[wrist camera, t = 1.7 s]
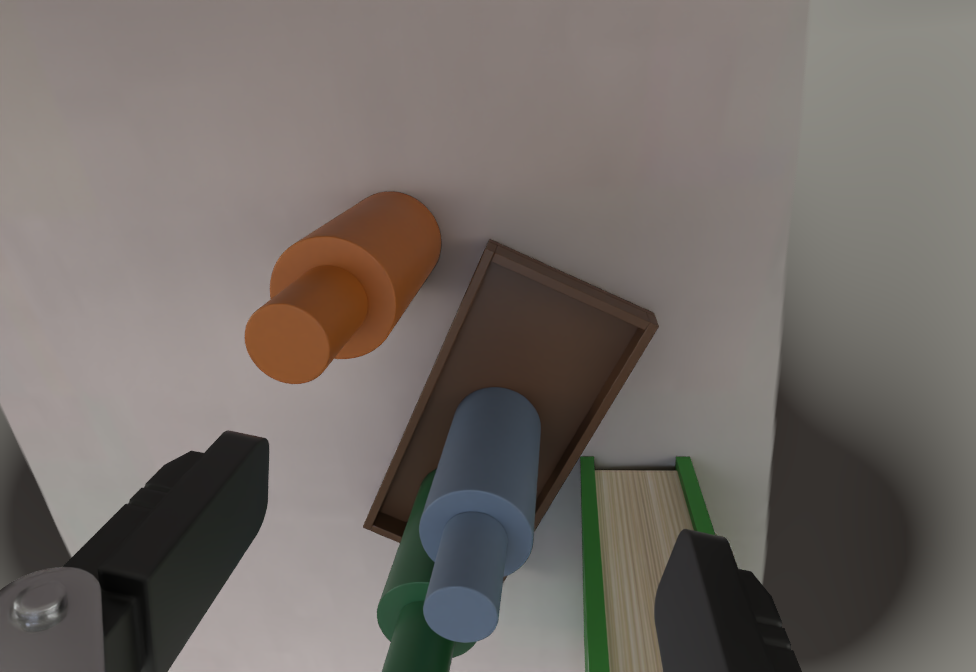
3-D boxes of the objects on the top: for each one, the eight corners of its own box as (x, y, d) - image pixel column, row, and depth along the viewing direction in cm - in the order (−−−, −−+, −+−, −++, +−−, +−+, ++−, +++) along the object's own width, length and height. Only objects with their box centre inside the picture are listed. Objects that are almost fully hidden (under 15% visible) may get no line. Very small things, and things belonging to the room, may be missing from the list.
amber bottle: (335, 262, 39) (197, 376, 24) (364, 174, 36) (230, 243, 22) (421, 300, 39) (336, 435, 25) (455, 216, 37) (384, 311, 22)
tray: (371, 508, 47) (362, 527, 45) (489, 238, 37) (485, 248, 35) (504, 563, 47) (501, 585, 45) (654, 312, 38) (659, 326, 36)
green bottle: (407, 511, 45) (333, 719, 31) (435, 451, 43) (369, 646, 28) (480, 542, 46) (441, 761, 31) (513, 484, 43) (486, 693, 29)
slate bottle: (441, 441, 43) (376, 632, 28) (473, 372, 40) (421, 543, 26) (518, 474, 43) (495, 680, 28) (555, 408, 41) (550, 597, 26)
